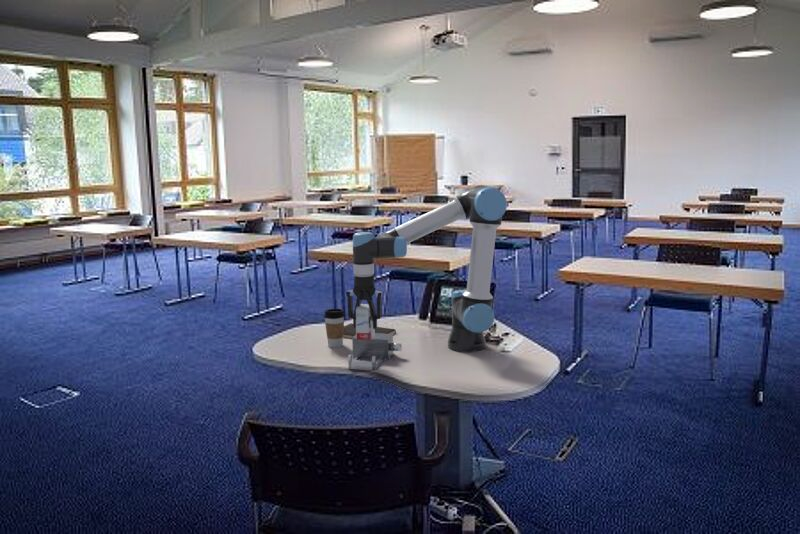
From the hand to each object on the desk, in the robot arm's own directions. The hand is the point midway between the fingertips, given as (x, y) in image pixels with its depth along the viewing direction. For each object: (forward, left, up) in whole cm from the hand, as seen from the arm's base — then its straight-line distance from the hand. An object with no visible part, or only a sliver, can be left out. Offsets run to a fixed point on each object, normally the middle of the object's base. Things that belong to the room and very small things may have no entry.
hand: (365, 336), depth 247 cm
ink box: (0, 0, -1) cm, 1 cm away
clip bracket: (0, 0, -11) cm, 11 cm away
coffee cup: (+19, -21, -11) cm, 30 cm away
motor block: (-2, -10, -11) cm, 14 cm away
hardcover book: (+12, -38, -11) cm, 42 cm away
